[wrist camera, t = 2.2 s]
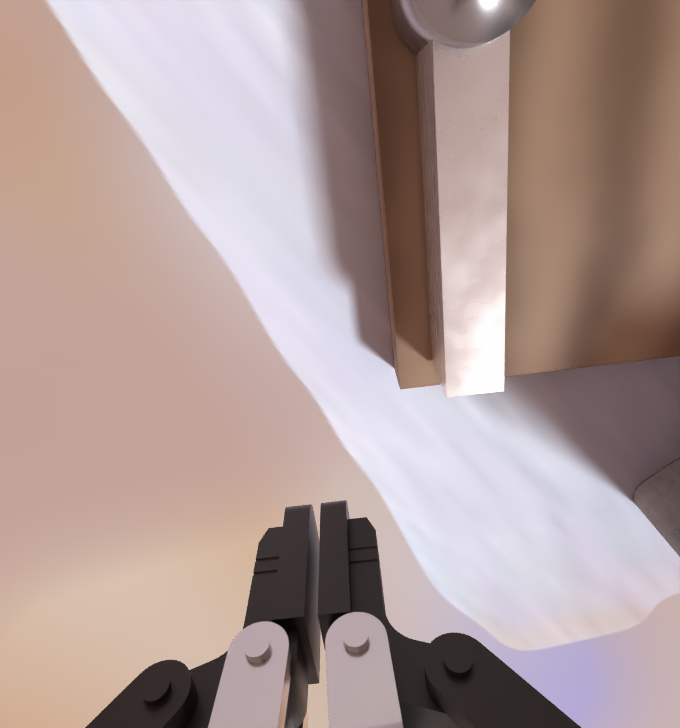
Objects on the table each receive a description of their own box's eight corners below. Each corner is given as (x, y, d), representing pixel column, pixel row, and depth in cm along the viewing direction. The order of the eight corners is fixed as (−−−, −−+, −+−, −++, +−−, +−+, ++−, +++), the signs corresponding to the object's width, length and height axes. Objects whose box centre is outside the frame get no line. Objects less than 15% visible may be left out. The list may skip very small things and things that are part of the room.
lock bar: (386, -65, 21) (402, -127, 16) (504, -83, 20) (556, -151, 16) (415, 367, 29) (431, 411, 24) (498, 357, 29) (531, 399, 24)
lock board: (394, 368, 33) (410, 426, 26) (351, -116, 22) (360, -225, 16) (749, 325, 32) (859, 373, 25) (876, -200, 21) (1121, -354, 15)
